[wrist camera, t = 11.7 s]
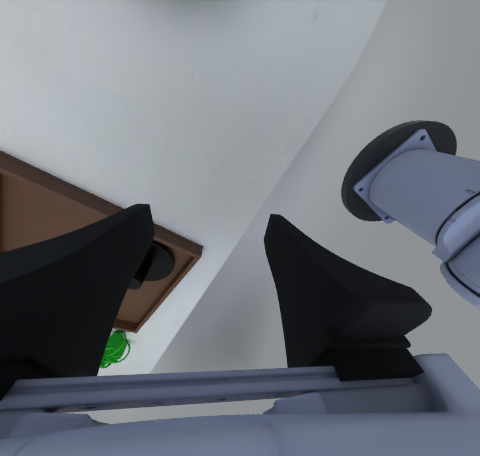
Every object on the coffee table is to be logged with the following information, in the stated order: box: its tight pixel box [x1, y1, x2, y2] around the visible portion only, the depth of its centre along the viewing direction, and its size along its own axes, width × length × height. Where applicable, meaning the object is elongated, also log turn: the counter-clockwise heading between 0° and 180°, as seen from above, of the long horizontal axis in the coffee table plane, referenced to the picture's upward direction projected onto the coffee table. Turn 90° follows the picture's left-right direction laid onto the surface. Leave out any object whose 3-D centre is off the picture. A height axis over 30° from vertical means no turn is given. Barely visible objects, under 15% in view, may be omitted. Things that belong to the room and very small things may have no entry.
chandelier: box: [100, 331, 130, 368], centre depth 34 cm, size 15×15×7 cm
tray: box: [0, 151, 203, 333], centre depth 24 cm, size 21×25×2 cm
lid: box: [128, 241, 175, 290], centre depth 22 cm, size 8×8×4 cm
